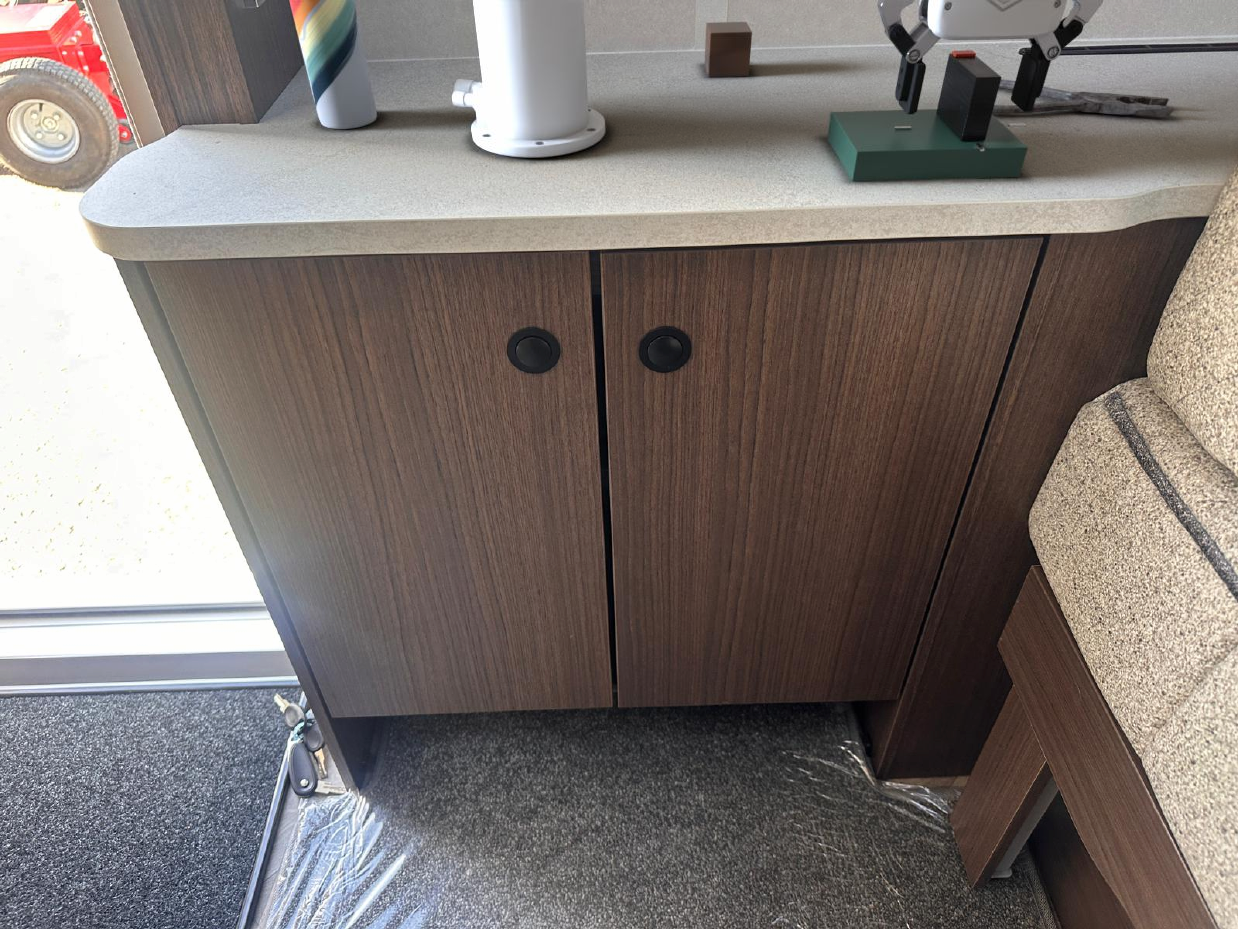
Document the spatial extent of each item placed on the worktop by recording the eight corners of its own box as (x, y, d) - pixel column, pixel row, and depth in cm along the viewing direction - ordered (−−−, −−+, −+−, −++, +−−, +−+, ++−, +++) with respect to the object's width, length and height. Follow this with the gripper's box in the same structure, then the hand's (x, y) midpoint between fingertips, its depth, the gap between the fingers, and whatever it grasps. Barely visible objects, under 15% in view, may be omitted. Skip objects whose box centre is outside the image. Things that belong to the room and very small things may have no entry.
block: (708, 77, 92) (710, 32, 89) (704, 65, 96) (706, 22, 93) (748, 76, 92) (752, 31, 89) (743, 64, 96) (746, 21, 93)
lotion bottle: (316, 116, 85) (256, -124, 72) (372, 107, 86) (324, -128, 74) (324, 133, 81) (263, -117, 68) (383, 124, 82) (334, -122, 70)
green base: (853, 184, 69) (859, 152, 67) (825, 137, 78) (829, 107, 76) (1041, 179, 69) (1051, 147, 67) (993, 132, 78) (1001, 102, 76)
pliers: (943, 75, 88) (1143, 77, 86) (941, 84, 89) (1140, 86, 86) (960, 105, 81) (1180, 108, 79) (958, 114, 81) (1176, 117, 79)
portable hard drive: (985, 140, 69) (1002, 73, 66) (960, 141, 69) (977, 74, 66) (958, 113, 74) (973, 49, 71) (935, 113, 74) (949, 50, 71)
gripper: (917, -133, 57) (872, 125, 68) (1172, -139, 57) (1085, 120, 68) (889, -143, 62) (851, 96, 74) (1120, -149, 62) (1048, 91, 74)
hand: (963, 107), depth 71 cm, fingers open, 9 cm apart
